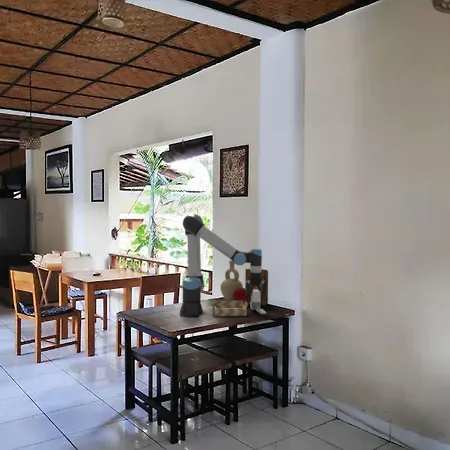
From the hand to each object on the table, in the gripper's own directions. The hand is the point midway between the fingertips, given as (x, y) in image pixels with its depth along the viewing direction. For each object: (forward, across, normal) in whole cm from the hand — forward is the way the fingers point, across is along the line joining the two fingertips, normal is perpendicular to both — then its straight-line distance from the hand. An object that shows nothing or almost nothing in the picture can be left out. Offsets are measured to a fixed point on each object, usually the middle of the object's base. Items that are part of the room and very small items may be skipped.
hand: (255, 306), depth 325 cm
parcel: (+1, 0, 0) cm, 1 cm away
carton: (+4, -19, -8) cm, 21 cm away
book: (+4, +7, +27) cm, 28 cm away
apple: (+4, -5, +23) cm, 24 cm away
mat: (+4, 0, 0) cm, 4 cm away
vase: (+4, -9, +40) cm, 41 cm away
